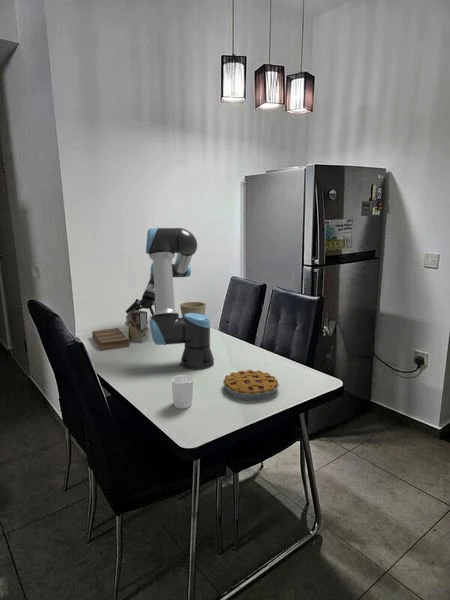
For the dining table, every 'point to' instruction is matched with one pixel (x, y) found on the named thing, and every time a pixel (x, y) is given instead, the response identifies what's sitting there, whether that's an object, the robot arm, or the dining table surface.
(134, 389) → the dining table surface
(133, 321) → the coffee box
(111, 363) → the dining table surface
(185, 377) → the white cup
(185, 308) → the plant pot
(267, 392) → the pie
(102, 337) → the walnut stand
